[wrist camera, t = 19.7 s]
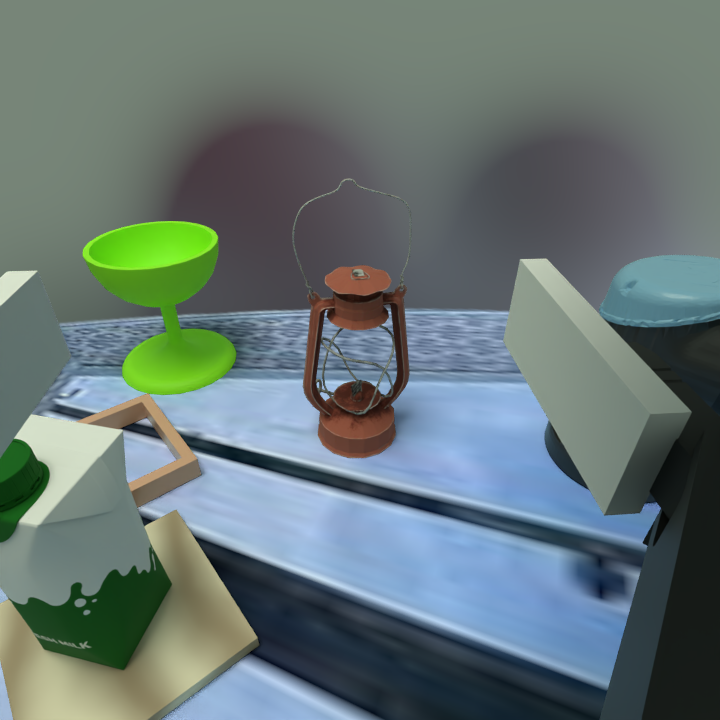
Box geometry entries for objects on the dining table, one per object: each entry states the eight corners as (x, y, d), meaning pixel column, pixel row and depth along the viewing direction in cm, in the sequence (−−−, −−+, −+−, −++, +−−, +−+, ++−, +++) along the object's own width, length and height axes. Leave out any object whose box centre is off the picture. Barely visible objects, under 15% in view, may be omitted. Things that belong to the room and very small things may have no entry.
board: (178, 517, 50) (176, 509, 49) (259, 645, 40) (257, 637, 39) (-5, 616, 42) (-11, 609, 41) (38, 810, 32) (31, 805, 31)
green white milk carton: (24, 659, 38) (-117, 481, 26) (99, 555, 45) (14, 381, 34) (128, 687, 36) (25, 511, 25) (188, 575, 44) (130, 399, 32)
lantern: (359, 472, 55) (363, 202, 38) (296, 430, 61) (274, 177, 44) (411, 427, 61) (434, 177, 44) (349, 392, 67) (349, 158, 50)
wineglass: (143, 332, 79) (112, 221, 69) (244, 331, 79) (228, 221, 69) (103, 395, 66) (57, 270, 56) (225, 394, 66) (201, 269, 56)
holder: (152, 408, 64) (147, 393, 62) (201, 474, 55) (197, 458, 53) (26, 460, 56) (18, 444, 55) (59, 547, 47) (49, 531, 46)
